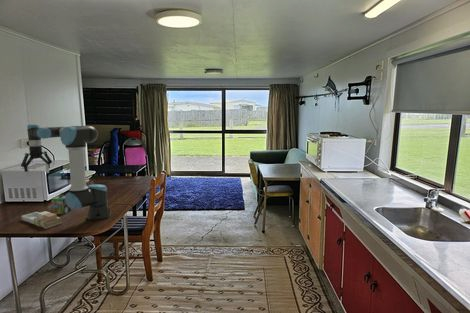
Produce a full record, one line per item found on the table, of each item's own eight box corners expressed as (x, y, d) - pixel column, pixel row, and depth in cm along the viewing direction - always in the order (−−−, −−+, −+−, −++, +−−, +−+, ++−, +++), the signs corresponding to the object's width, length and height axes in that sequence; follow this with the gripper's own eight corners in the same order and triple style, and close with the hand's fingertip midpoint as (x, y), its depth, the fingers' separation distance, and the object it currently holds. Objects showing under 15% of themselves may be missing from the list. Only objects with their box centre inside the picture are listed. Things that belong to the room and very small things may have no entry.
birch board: (61, 223, 195) (61, 217, 194) (46, 228, 186) (45, 222, 186) (49, 219, 202) (49, 214, 201) (34, 224, 193) (33, 218, 192)
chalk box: (59, 210, 221) (57, 191, 219) (71, 210, 221) (69, 191, 219) (51, 214, 212) (50, 194, 210) (64, 214, 212) (62, 194, 210)
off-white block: (50, 216, 196) (50, 212, 195) (43, 219, 191) (42, 214, 191) (45, 215, 199) (45, 211, 198) (38, 217, 194) (37, 213, 194)
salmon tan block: (57, 218, 192) (56, 214, 192) (49, 221, 188) (48, 216, 188) (51, 217, 195) (51, 212, 195) (43, 219, 191) (43, 215, 190)
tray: (49, 219, 202) (49, 215, 201) (33, 224, 193) (33, 220, 193) (37, 215, 209) (36, 211, 209) (21, 220, 201) (21, 215, 200)
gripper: (50, 143, 225) (52, 170, 228) (13, 147, 204) (16, 176, 207) (55, 144, 222) (58, 172, 225) (18, 147, 200) (21, 178, 203)
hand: (38, 174), depth 216 cm, fingers open, 13 cm apart
